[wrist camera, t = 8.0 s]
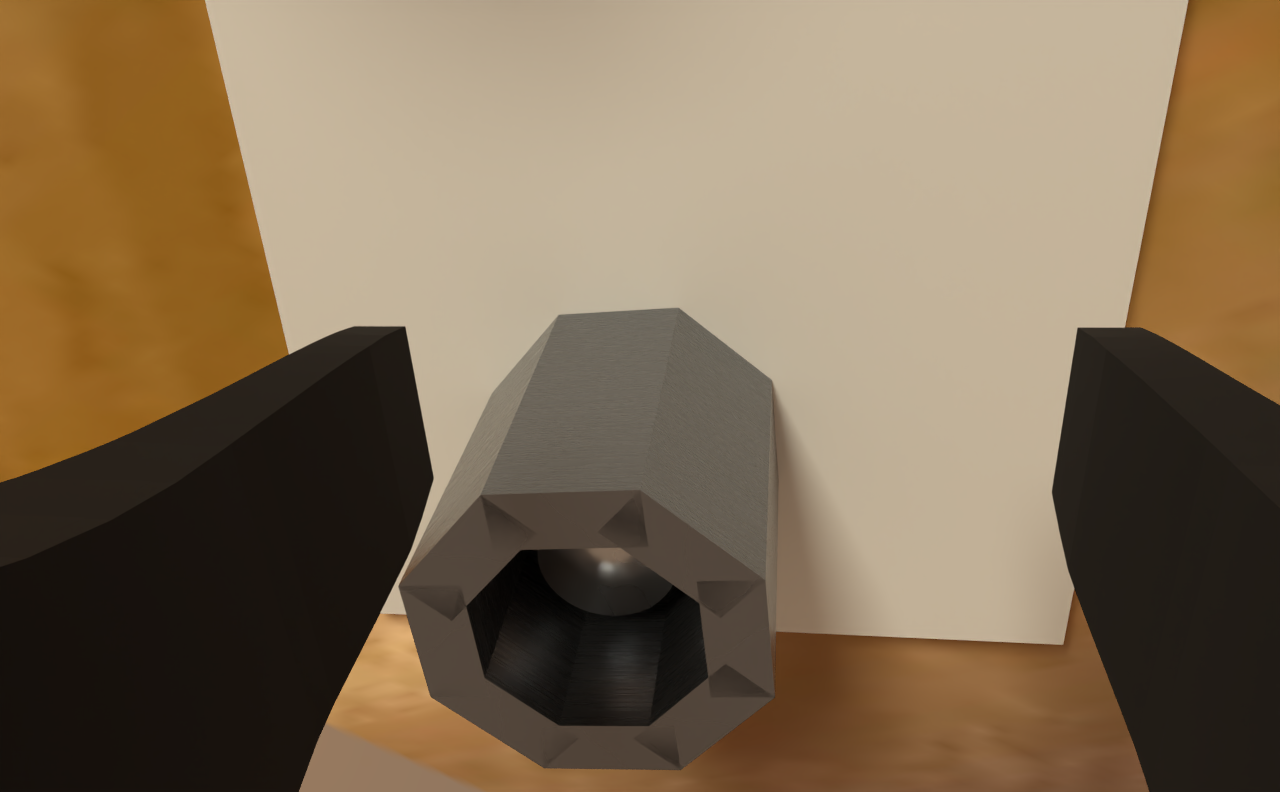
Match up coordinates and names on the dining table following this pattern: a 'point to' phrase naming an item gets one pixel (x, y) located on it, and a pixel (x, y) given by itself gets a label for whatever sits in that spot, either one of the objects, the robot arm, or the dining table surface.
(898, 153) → the board
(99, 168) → the dining table surface
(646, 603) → the cylinder
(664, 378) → the gray faceted cup
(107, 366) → the dining table surface
